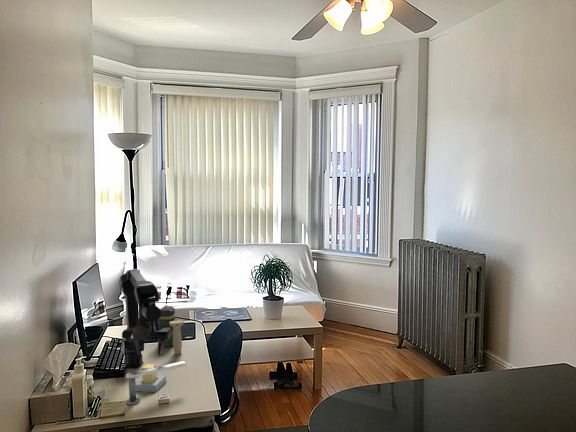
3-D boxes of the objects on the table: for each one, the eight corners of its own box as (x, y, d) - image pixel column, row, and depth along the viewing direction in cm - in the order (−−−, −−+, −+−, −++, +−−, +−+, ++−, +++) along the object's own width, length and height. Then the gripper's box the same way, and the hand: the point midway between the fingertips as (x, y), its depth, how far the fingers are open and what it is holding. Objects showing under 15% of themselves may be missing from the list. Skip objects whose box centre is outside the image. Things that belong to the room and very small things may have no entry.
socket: (133, 390, 188) (132, 384, 188) (144, 380, 197) (143, 374, 197) (156, 391, 186) (155, 385, 186) (166, 381, 196) (165, 375, 195)
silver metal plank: (127, 379, 175) (127, 377, 175) (124, 376, 178) (124, 373, 178) (186, 366, 186) (186, 363, 186) (182, 362, 190) (182, 360, 190)
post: (123, 404, 176) (121, 379, 175) (129, 398, 181) (128, 374, 180) (136, 405, 175) (135, 380, 174) (142, 399, 180) (141, 374, 179)
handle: (185, 354, 227) (184, 322, 225) (171, 356, 224) (170, 324, 223) (184, 350, 231) (182, 319, 230) (170, 352, 229) (168, 321, 228)
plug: (142, 388, 190) (141, 368, 190) (147, 383, 194) (146, 364, 194) (152, 388, 189) (151, 368, 189) (157, 384, 193) (156, 364, 193)
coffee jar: (174, 347, 237) (172, 309, 235) (157, 348, 236) (155, 310, 235) (177, 340, 246) (176, 304, 245) (161, 341, 246) (160, 305, 244)
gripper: (113, 321, 183) (115, 361, 185) (160, 322, 180) (162, 363, 181) (127, 313, 194) (129, 351, 195) (172, 313, 191) (174, 352, 192)
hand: (148, 354), depth 191 cm, fingers open, 9 cm apart
